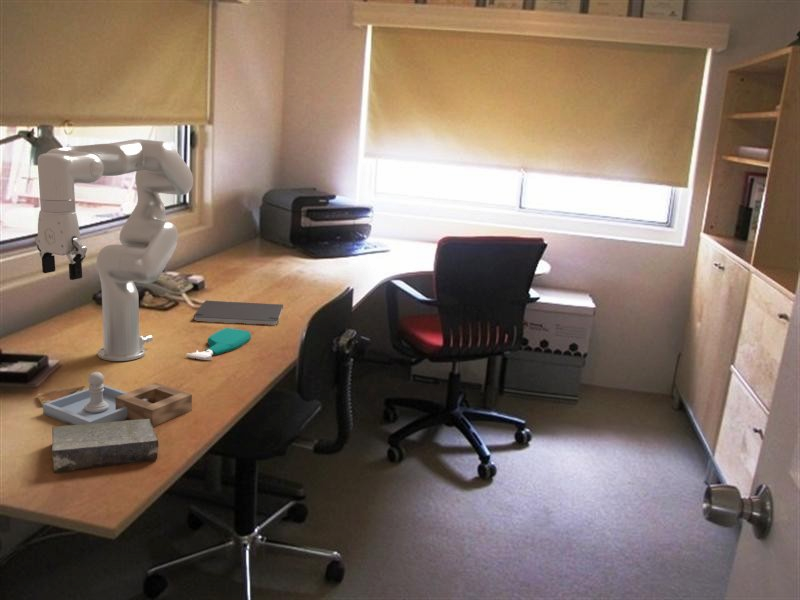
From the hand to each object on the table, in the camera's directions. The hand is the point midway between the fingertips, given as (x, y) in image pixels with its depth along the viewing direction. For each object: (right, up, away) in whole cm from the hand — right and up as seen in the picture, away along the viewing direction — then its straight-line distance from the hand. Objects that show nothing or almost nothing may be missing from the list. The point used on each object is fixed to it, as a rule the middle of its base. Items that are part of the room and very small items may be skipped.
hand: (62, 275), depth 176 cm
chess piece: (+12, -32, -9) cm, 35 cm away
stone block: (+22, -38, -28) cm, 52 cm away
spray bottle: (+28, -21, +40) cm, 54 cm away
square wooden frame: (+25, -32, -7) cm, 42 cm away
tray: (+13, -32, -9) cm, 36 cm away
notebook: (+27, -12, +76) cm, 81 cm away
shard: (0, -30, -3) cm, 30 cm away
